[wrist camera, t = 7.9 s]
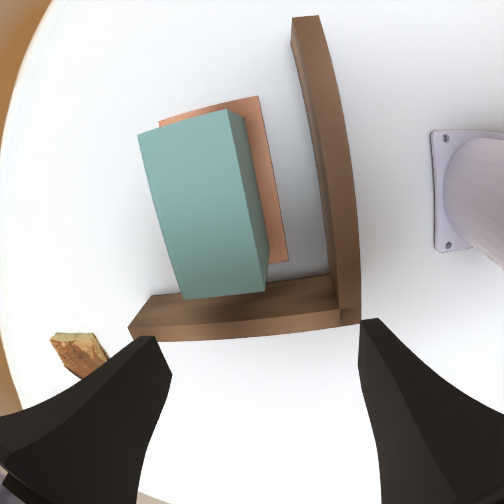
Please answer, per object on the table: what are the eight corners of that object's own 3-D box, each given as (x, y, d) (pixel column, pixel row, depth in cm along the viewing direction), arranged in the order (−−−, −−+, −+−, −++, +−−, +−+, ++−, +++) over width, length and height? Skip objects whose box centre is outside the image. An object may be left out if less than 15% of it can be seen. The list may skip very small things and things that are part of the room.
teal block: (270, 249, 18) (264, 291, 13) (207, 258, 18) (183, 300, 14) (243, 117, 15) (226, 108, 10) (177, 133, 15) (137, 134, 11)
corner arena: (311, 41, 13) (318, 15, 9) (348, 287, 18) (361, 323, 15) (97, 102, 15) (59, 99, 11) (156, 309, 21) (134, 342, 17)
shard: (144, 404, 27) (139, 416, 26) (96, 398, 29) (90, 407, 27) (98, 329, 23) (89, 341, 22) (51, 329, 25) (42, 339, 23)
